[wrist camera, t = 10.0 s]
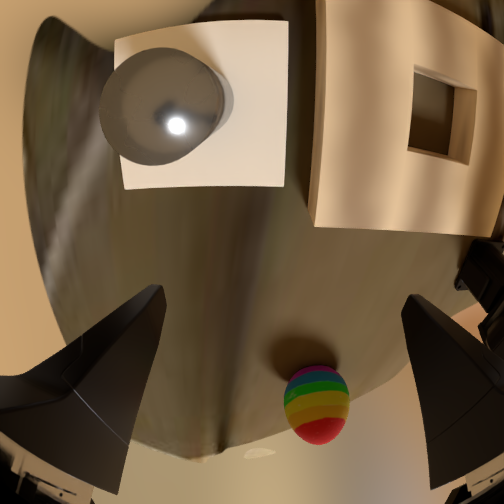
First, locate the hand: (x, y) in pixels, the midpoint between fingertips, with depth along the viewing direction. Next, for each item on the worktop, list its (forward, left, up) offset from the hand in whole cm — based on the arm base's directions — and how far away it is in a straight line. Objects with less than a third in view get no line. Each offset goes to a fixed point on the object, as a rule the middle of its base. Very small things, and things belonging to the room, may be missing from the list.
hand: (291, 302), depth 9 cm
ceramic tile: (+5, -6, -12) cm, 15 cm away
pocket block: (-12, -7, -12) cm, 18 cm away
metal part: (+5, -6, -12) cm, 14 cm away
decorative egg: (-7, +25, -13) cm, 29 cm away
